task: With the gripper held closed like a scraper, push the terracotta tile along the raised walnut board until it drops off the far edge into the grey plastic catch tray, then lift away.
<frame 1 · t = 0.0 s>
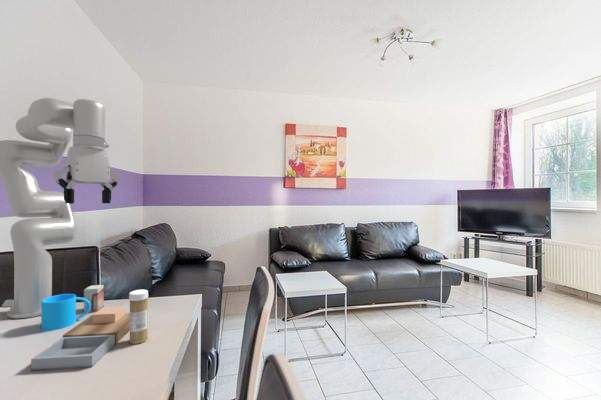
hand: (88, 203, 85), 37 cm above the table, tool pointing down, fingers open, 9 cm apart
mug: (67, 323, 91), on the table
sprinkles bottle: (138, 341, 80), on the table
catch tray: (76, 356, 72), on the table
small box: (94, 310, 103), on the table
tile: (109, 318, 87), point 3 cm above the table, touching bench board
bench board: (103, 333, 84), on the table
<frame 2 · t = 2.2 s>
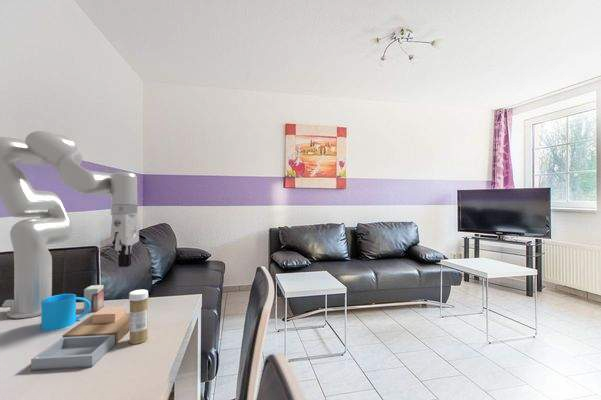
hand: (124, 266, 96), 17 cm above the table, tool pointing down, fingers closed
nothing on the table moved.
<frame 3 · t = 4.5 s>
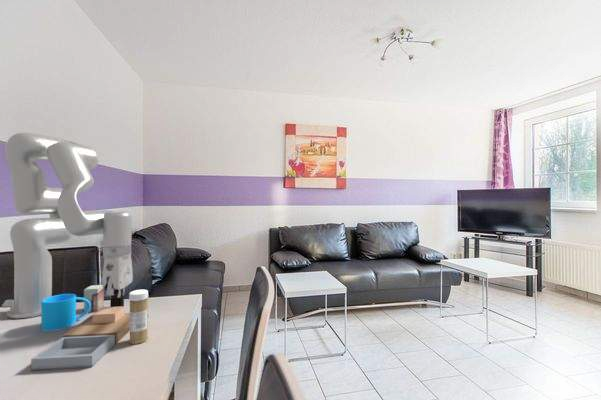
hand: (117, 309, 92), 4 cm above the table, tool pointing down, fingers closed
tile: (109, 318, 87), point 3 cm above the table, touching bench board, gripper
everything else where it was.
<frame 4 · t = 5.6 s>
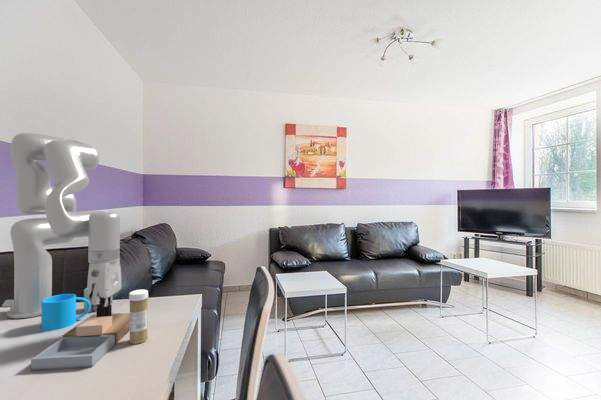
hand: (104, 319, 84), 4 cm above the table, tool pointing down, fingers closed
tile: (95, 330, 80), point 3 cm above the table, touching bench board, gripper
everything else where it was.
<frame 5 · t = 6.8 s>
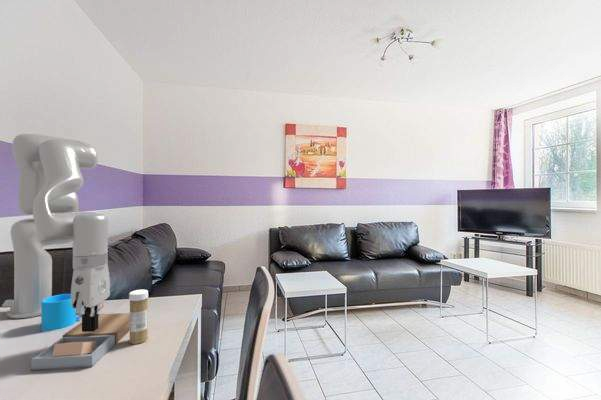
hand: (90, 330, 78), 4 cm above the table, tool pointing down, fingers closed
tile: (76, 342, 71), point 4 cm above the table, tilted 158°, touching catch tray
everything else where it was.
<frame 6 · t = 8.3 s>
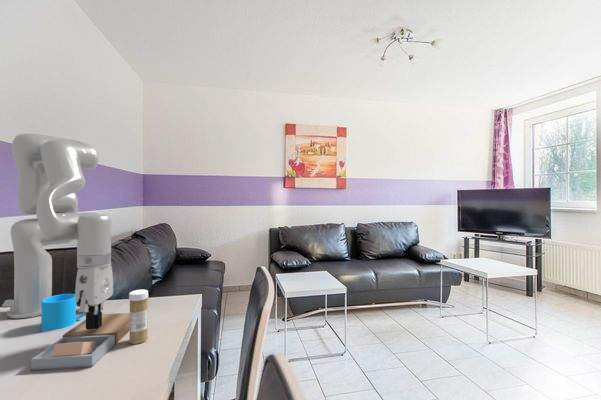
hand: (93, 327, 80), 4 cm above the table, tool pointing down, fingers closed
nothing on the table moved.
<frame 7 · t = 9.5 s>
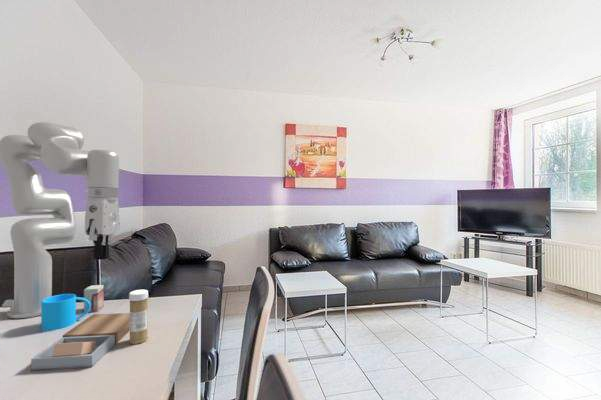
hand: (101, 258, 84), 22 cm above the table, tool pointing down, fingers closed
nothing on the table moved.
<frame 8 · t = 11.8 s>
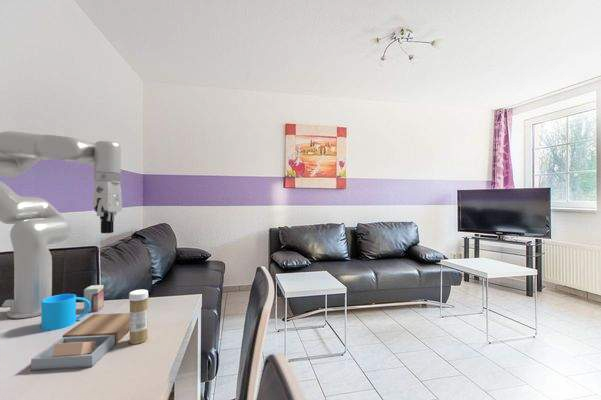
hand: (107, 232, 99), 27 cm above the table, tool pointing down, fingers closed
nothing on the table moved.
at the end: tile inside the target area on the catch tray (1.0 cm from its centre), point 3.9 cm above the catch tray's base; tile moved 16.5 cm from its start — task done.
